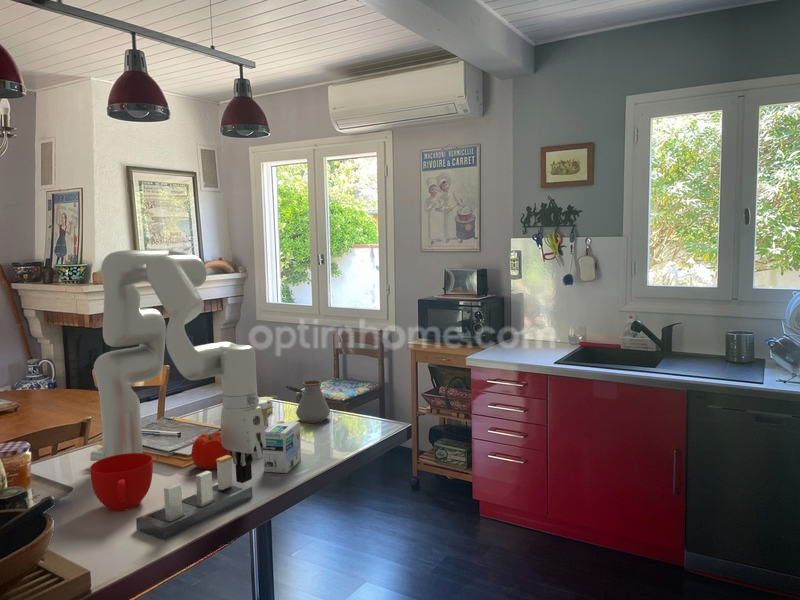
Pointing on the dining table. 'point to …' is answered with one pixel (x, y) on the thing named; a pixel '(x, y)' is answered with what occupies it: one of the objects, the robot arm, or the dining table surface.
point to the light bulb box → (282, 447)
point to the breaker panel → (191, 506)
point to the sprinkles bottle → (264, 411)
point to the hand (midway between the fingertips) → (244, 480)
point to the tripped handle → (224, 472)
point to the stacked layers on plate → (270, 405)
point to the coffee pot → (311, 403)
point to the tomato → (207, 450)
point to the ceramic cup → (122, 480)
